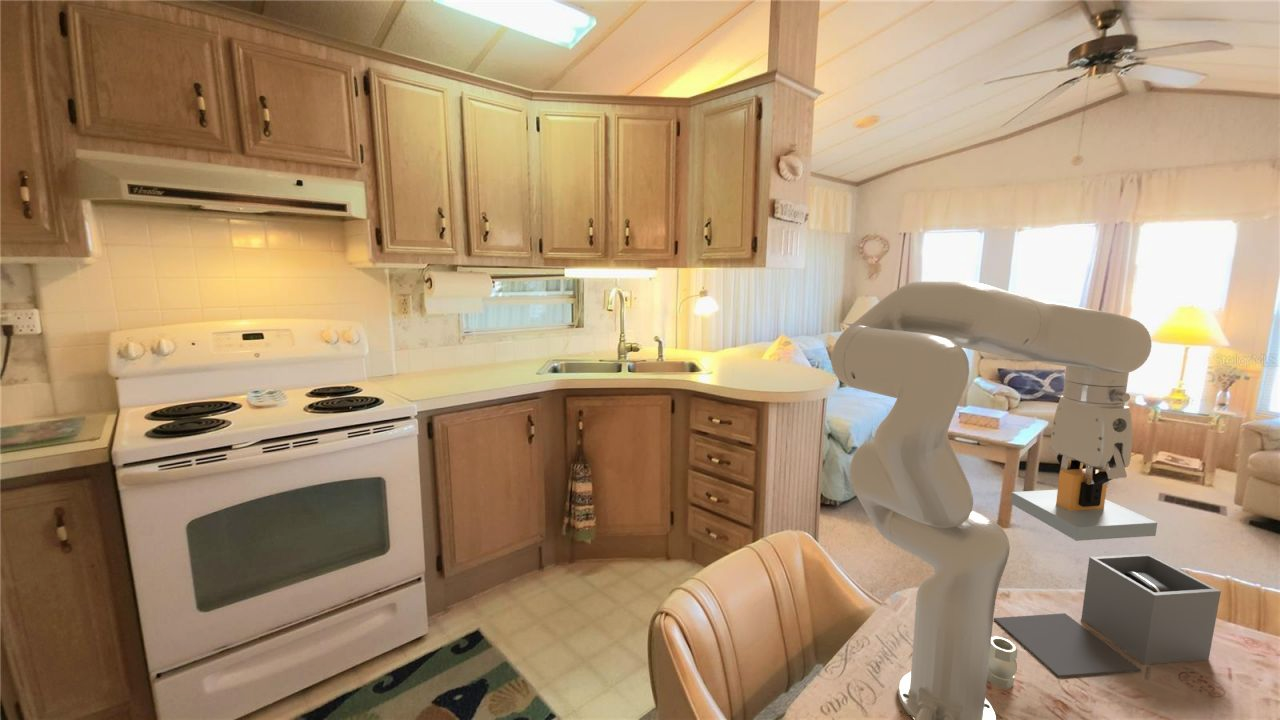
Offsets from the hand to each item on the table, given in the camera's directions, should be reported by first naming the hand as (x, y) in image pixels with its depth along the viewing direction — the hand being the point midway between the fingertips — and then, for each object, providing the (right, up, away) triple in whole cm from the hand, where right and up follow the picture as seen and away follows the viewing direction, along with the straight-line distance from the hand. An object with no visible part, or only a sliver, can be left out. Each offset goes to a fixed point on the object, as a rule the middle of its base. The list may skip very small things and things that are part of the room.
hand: (1080, 500), depth 86 cm
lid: (0, -3, +1) cm, 3 cm away
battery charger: (+15, -26, +5) cm, 30 cm away
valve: (-15, -28, +1) cm, 32 cm away
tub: (+15, -26, +5) cm, 30 cm away
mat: (+1, -26, +4) cm, 26 cm away
